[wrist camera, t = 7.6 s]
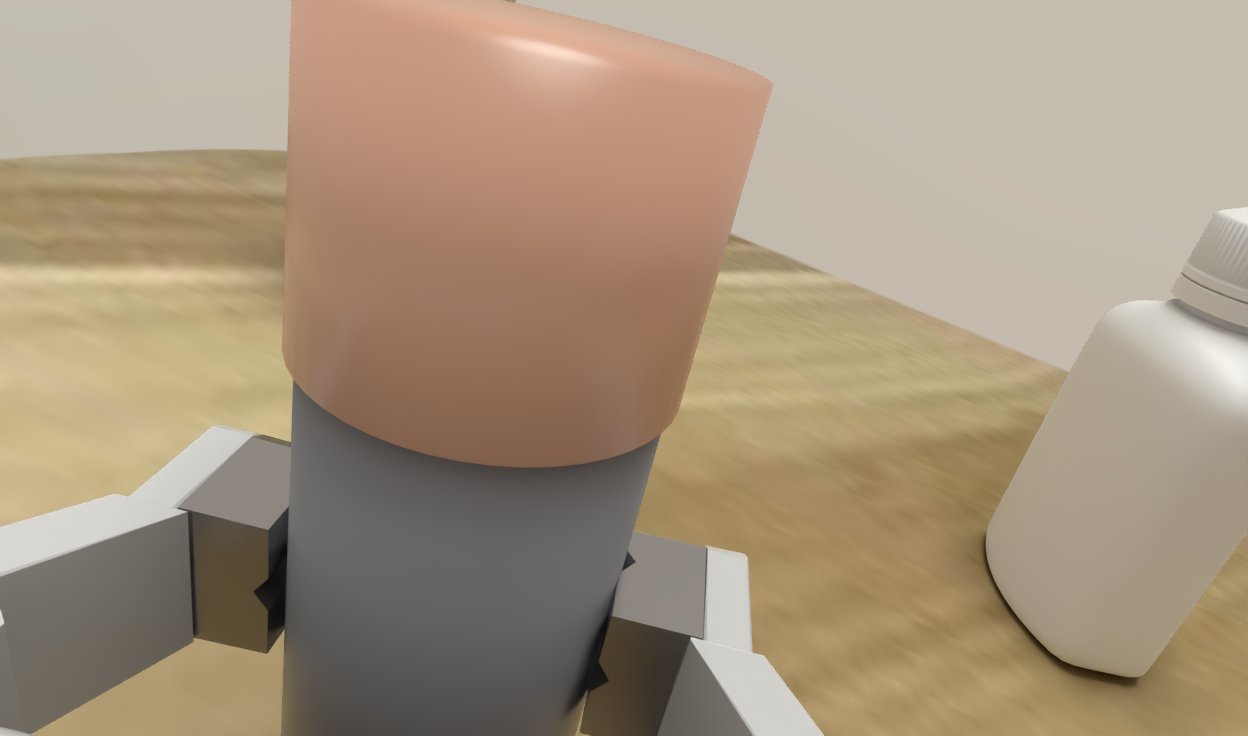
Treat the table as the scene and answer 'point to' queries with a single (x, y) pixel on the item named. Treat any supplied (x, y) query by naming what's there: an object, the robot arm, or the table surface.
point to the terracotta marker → (484, 345)
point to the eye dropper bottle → (1136, 471)
